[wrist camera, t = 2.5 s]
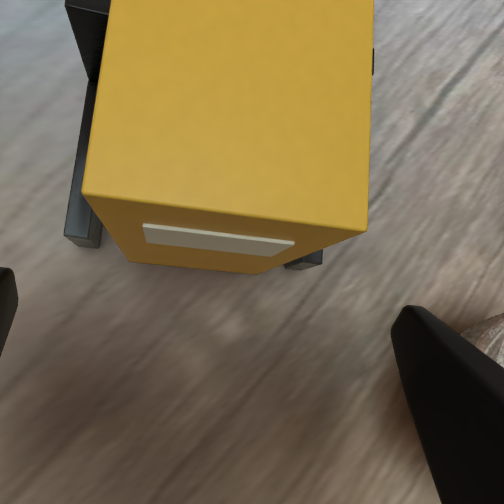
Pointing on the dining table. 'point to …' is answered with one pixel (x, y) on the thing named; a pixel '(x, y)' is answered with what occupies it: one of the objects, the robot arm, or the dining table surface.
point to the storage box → (232, 130)
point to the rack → (91, 49)
